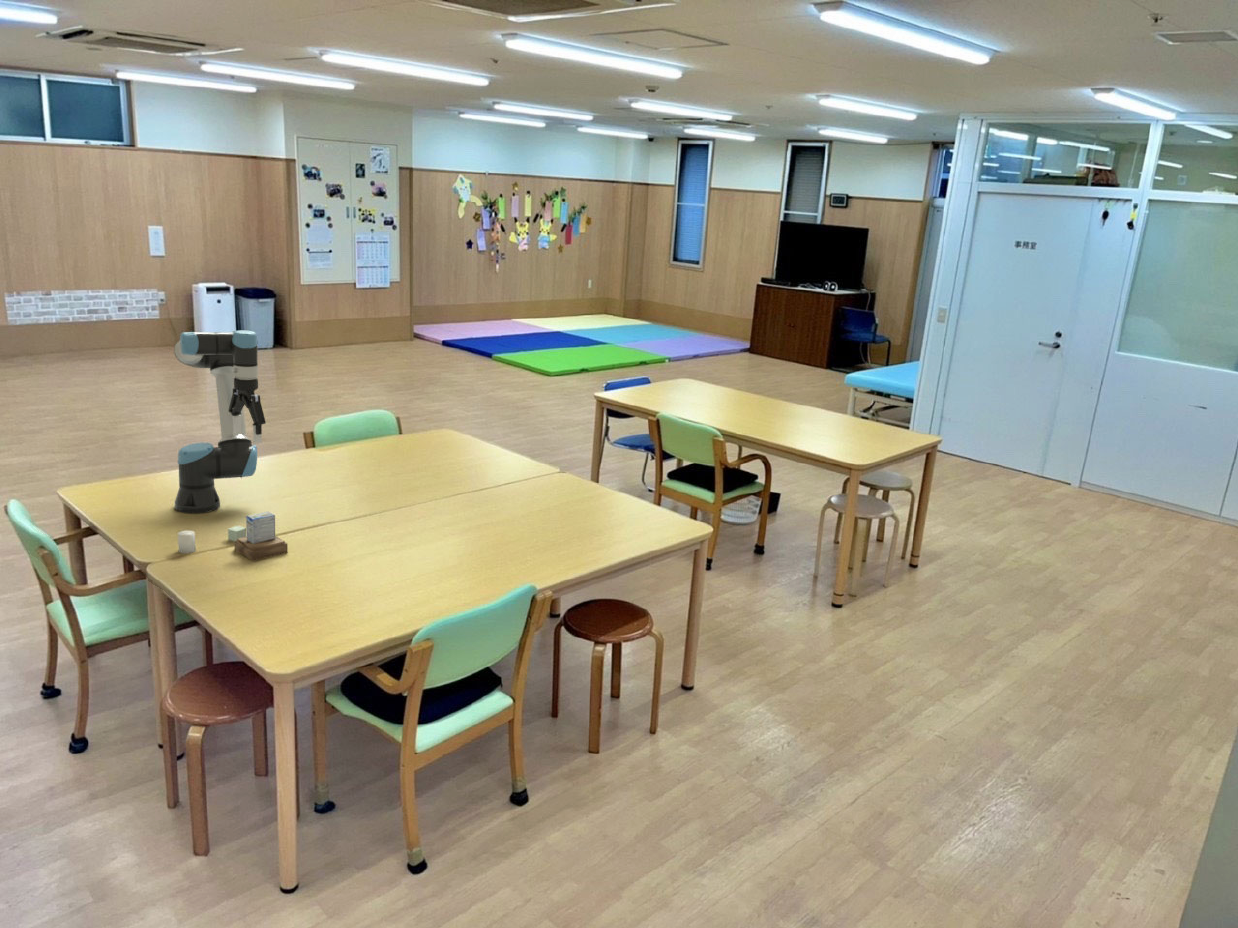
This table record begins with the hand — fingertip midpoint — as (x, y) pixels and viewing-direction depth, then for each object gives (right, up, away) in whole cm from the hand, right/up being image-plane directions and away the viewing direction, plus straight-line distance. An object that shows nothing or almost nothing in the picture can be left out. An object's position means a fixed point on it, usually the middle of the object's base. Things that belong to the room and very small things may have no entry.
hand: (247, 438), depth 309 cm
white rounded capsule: (-14, -37, -14) cm, 42 cm away
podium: (+8, -38, -9) cm, 39 cm away
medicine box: (+9, -34, -10) cm, 36 cm away
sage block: (-3, -34, -1) cm, 34 cm away
